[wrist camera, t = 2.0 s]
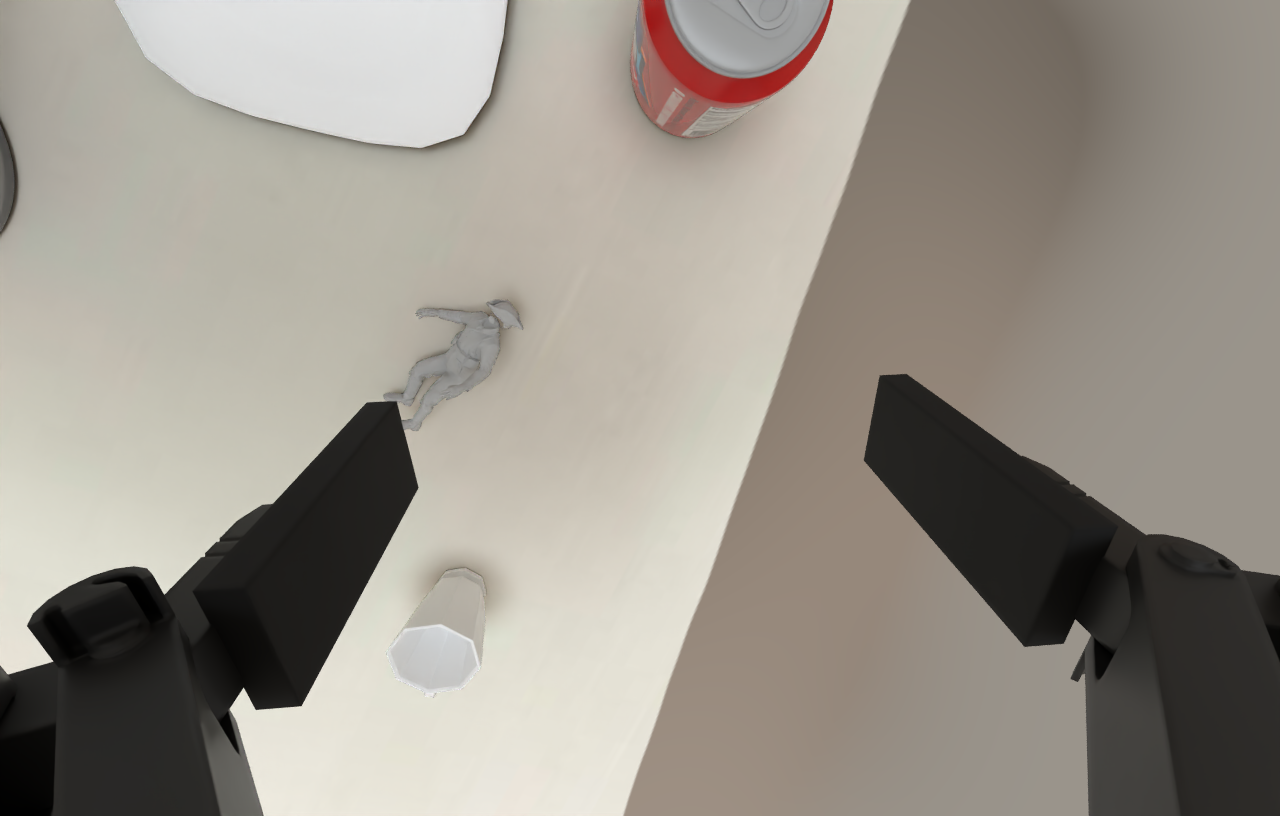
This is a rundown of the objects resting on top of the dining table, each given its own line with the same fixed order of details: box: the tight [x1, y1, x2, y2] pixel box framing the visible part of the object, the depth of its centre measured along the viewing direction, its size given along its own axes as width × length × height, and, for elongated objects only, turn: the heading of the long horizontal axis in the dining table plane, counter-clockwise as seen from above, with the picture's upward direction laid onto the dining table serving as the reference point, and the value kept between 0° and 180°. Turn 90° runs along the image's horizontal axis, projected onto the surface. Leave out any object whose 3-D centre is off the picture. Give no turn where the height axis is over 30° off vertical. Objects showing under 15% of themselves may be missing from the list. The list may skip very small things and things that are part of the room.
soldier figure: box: [384, 300, 523, 431], centre depth 37 cm, size 8×5×12 cm
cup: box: [386, 568, 486, 698], centre depth 44 cm, size 7×10×8 cm
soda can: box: [630, 0, 833, 138], centre depth 26 cm, size 8×8×15 cm
